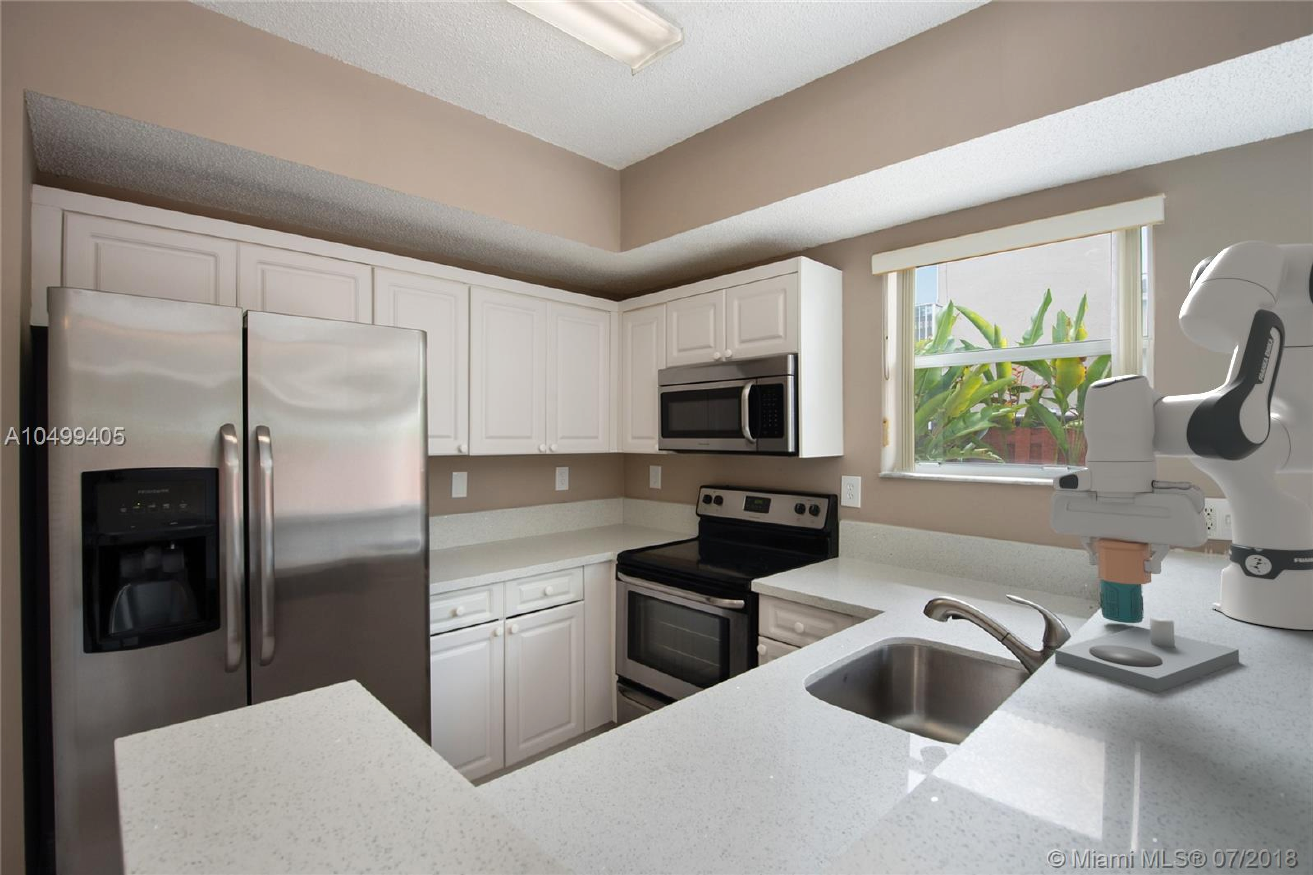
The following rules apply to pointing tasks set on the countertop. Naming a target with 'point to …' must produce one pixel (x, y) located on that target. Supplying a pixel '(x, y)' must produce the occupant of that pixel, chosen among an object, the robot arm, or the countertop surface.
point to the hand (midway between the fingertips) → (1124, 568)
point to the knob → (1123, 561)
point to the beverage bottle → (1121, 602)
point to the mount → (1148, 656)
